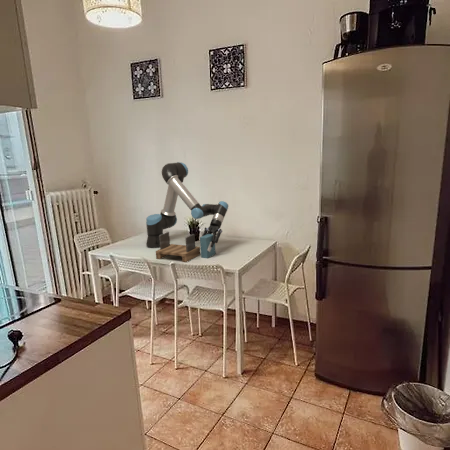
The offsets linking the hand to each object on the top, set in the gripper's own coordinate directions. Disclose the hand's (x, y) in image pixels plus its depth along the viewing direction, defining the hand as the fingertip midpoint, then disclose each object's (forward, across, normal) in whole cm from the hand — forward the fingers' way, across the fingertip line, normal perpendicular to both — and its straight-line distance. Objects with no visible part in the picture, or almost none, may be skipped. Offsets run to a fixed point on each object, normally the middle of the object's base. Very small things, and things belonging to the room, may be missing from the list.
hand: (204, 250), depth 240 cm
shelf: (+8, +18, +1) cm, 20 cm away
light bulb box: (-23, +80, -30) cm, 89 cm away
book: (+1, 0, -6) cm, 6 cm away
